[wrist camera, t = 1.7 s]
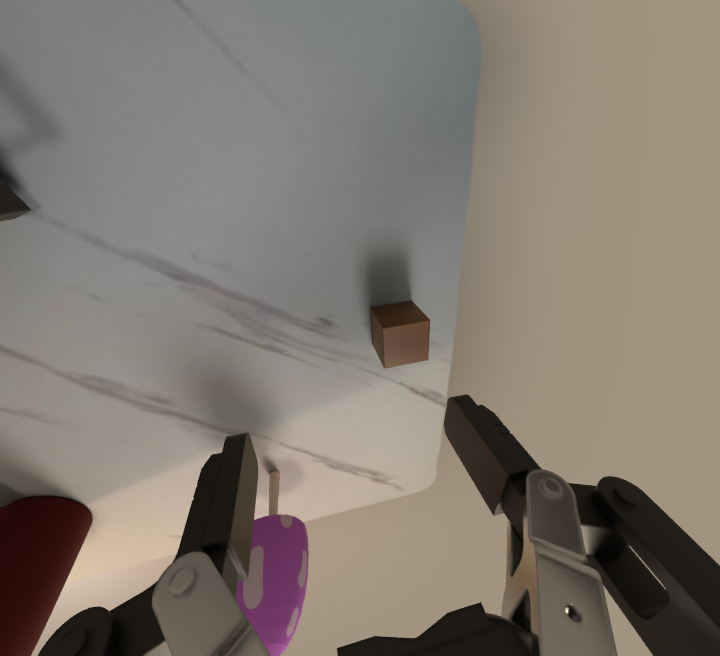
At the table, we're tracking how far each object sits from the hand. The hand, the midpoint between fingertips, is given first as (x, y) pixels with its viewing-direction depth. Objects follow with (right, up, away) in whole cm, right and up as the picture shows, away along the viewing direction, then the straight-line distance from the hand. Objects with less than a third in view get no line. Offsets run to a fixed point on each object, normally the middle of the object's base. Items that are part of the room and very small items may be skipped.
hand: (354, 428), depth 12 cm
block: (+3, +5, +16) cm, 17 cm away
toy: (-10, -13, +22) cm, 27 cm away
